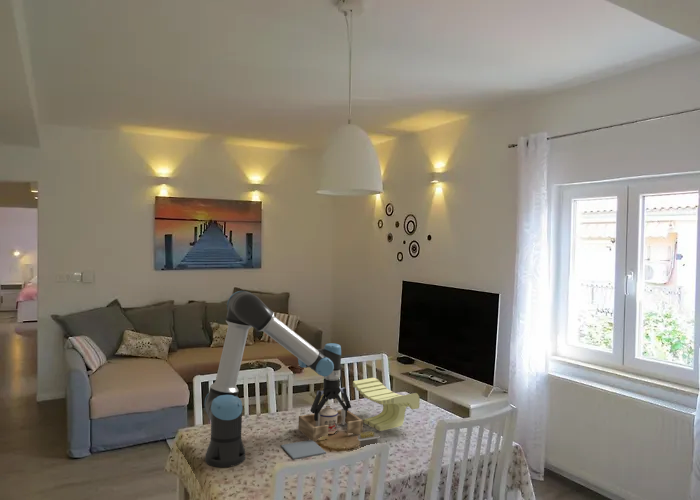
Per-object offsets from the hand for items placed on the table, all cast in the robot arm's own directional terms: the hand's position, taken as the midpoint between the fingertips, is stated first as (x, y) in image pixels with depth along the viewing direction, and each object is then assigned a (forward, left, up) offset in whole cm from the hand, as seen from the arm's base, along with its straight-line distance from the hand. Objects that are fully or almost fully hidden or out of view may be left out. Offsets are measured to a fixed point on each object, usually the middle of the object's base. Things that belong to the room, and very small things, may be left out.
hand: (330, 425), depth 231 cm
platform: (+7, -22, -3) cm, 23 cm away
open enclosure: (0, 0, -3) cm, 3 cm away
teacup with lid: (0, 0, -3) cm, 3 cm away
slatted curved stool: (+28, -1, -3) cm, 28 cm away
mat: (-19, -14, -3) cm, 24 cm away
